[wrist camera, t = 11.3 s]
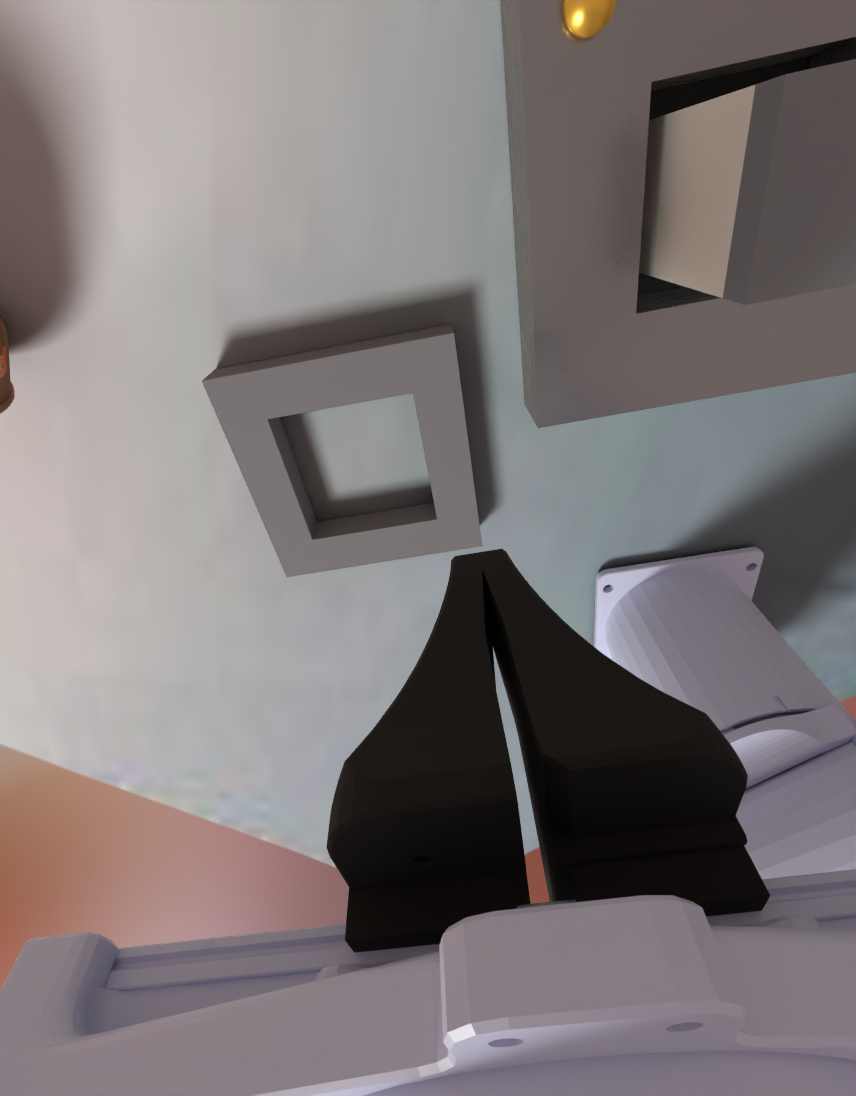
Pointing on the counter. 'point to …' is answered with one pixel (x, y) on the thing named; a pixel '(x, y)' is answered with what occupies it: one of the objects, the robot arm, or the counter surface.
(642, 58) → the port block
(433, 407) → the gray square frame
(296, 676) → the counter surface
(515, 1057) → the robot arm
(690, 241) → the plug
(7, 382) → the tin
